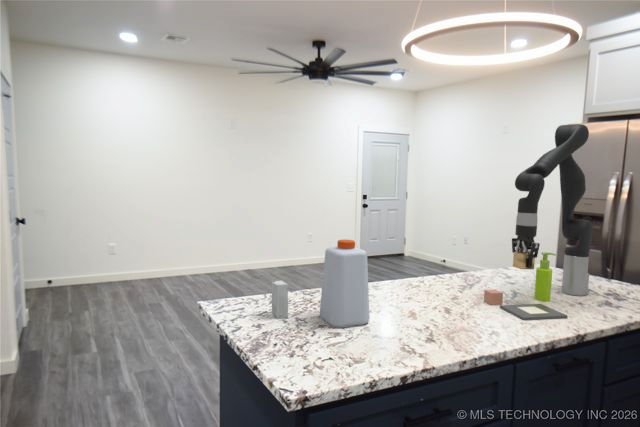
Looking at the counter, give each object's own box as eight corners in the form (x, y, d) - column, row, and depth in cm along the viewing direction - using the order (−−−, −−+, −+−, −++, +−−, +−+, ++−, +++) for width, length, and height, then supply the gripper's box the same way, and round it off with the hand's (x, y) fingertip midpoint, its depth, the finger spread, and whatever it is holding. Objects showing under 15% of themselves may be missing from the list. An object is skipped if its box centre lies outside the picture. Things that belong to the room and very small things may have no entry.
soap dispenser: (554, 302, 170) (558, 254, 169) (536, 300, 172) (540, 253, 170) (549, 298, 176) (553, 252, 174) (532, 296, 178) (535, 251, 176)
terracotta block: (494, 301, 170) (495, 289, 170) (502, 305, 165) (502, 292, 165) (483, 301, 169) (484, 289, 169) (490, 305, 164) (491, 293, 164)
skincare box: (288, 317, 145) (289, 284, 144) (276, 319, 143) (277, 285, 142) (282, 312, 151) (282, 279, 150) (270, 313, 149) (271, 281, 148)
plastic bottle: (315, 315, 148) (317, 238, 146) (353, 310, 154) (355, 236, 152) (333, 330, 134) (335, 245, 132) (374, 324, 140) (376, 243, 138)
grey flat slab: (540, 306, 165) (540, 303, 165) (567, 318, 151) (567, 315, 151) (499, 307, 161) (499, 305, 161) (523, 320, 148) (523, 317, 147)
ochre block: (524, 266, 168) (525, 251, 168) (534, 269, 163) (535, 254, 162) (512, 266, 167) (513, 251, 167) (521, 269, 162) (522, 254, 162)
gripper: (547, 226, 157) (544, 270, 159) (523, 222, 171) (520, 262, 173) (530, 226, 156) (526, 270, 157) (506, 222, 170) (503, 262, 172)
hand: (523, 265), depth 165 cm, fingers closed on ochre block, 5 cm apart
